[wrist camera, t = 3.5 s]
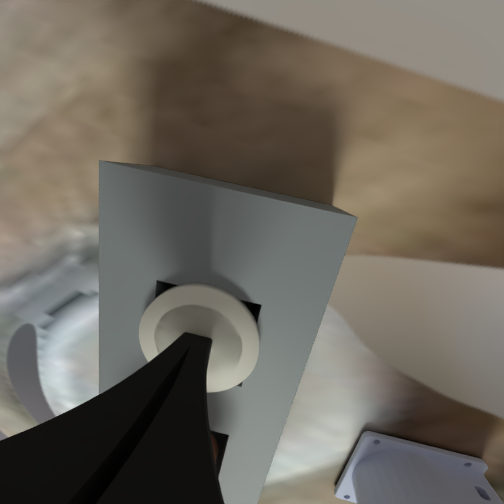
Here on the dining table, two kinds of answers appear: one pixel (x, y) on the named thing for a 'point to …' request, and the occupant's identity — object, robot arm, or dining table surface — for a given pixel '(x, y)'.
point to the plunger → (205, 330)
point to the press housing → (227, 278)
